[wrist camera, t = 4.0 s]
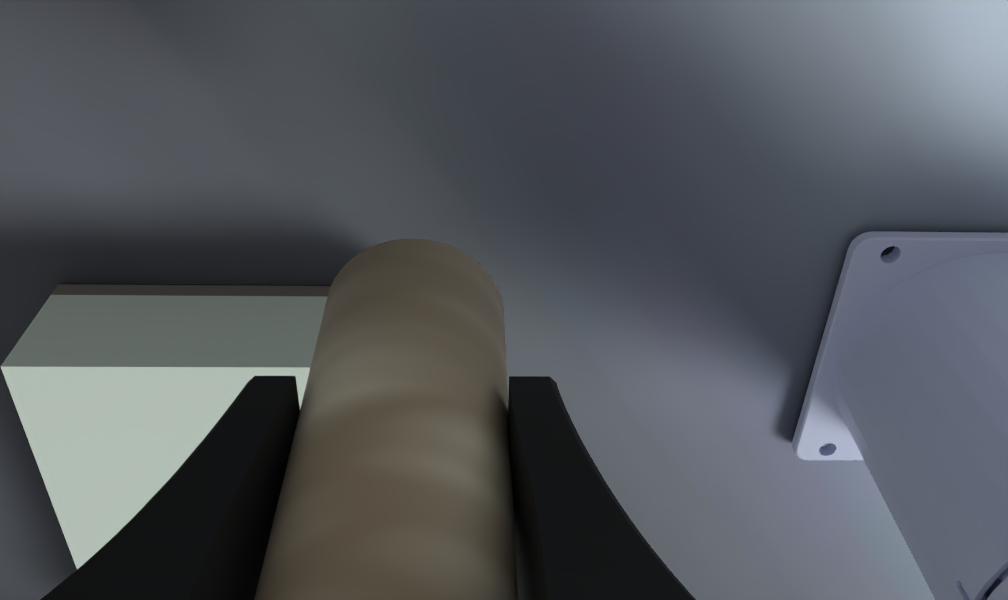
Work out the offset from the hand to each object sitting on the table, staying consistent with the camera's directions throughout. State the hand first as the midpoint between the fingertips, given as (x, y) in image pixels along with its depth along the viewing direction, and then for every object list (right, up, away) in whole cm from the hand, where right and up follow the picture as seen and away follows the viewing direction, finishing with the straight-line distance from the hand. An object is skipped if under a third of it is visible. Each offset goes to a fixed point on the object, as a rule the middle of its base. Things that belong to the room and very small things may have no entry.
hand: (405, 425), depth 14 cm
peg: (0, +2, +2) cm, 3 cm away
